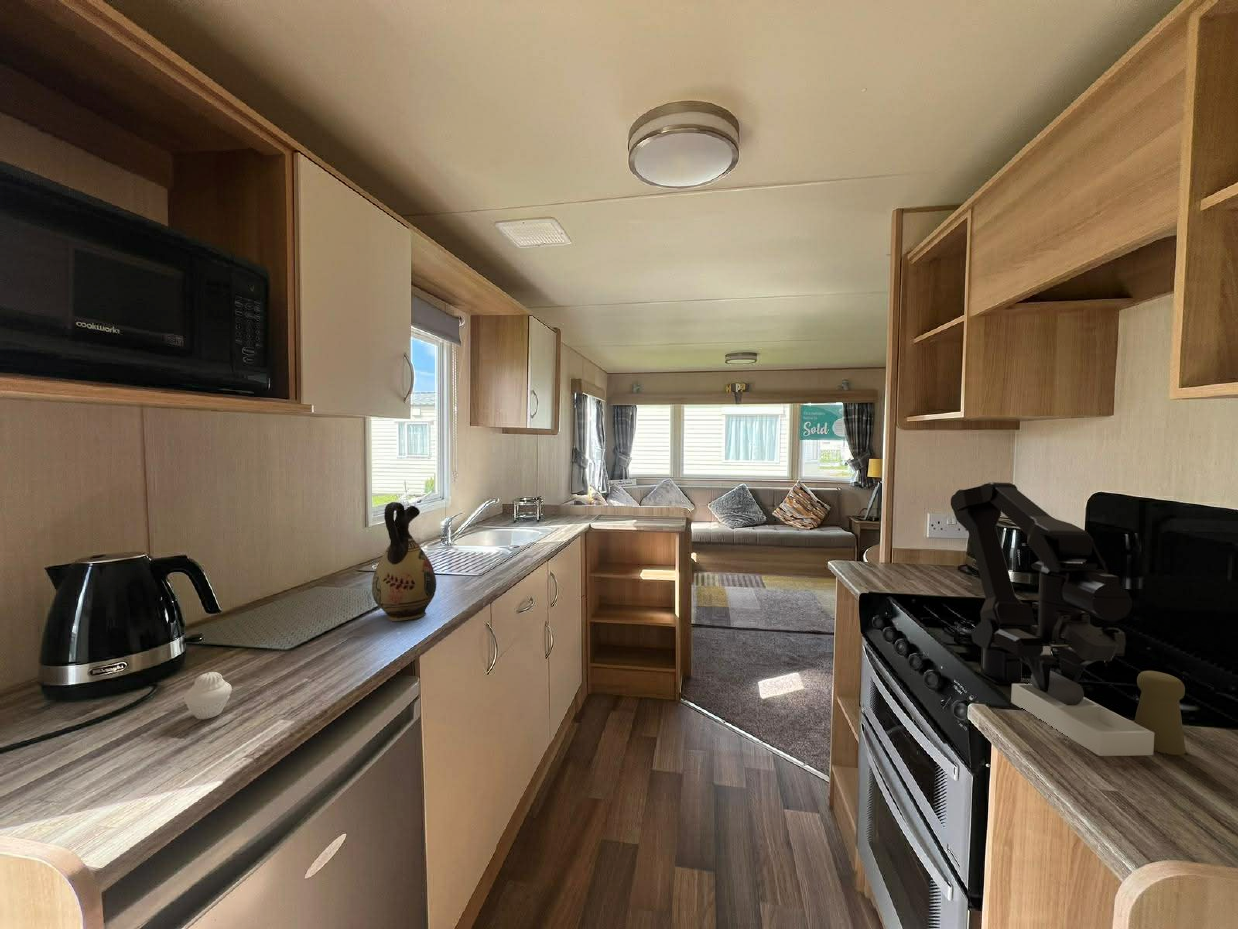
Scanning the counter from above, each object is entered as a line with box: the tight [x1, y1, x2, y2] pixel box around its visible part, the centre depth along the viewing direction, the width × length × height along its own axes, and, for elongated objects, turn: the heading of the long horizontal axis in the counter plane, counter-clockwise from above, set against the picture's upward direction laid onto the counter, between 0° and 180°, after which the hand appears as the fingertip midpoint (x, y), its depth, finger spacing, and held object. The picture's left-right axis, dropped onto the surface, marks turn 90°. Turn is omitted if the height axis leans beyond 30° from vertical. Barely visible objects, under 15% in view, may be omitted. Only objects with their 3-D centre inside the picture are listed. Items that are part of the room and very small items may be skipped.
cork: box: [1133, 670, 1187, 756], centre depth 81 cm, size 6×6×11 cm
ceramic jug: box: [371, 501, 437, 622], centre depth 135 cm, size 17×15×30 cm
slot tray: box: [1010, 683, 1154, 757], centre depth 86 cm, size 16×8×3 cm, turn 3°
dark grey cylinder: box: [1030, 669, 1085, 706], centre depth 90 cm, size 6×4×4 cm, turn 3°
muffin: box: [184, 671, 233, 720], centre depth 86 cm, size 6×6×7 cm
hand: (1055, 691), depth 90 cm, fingers closed on dark grey cylinder, 4 cm apart
